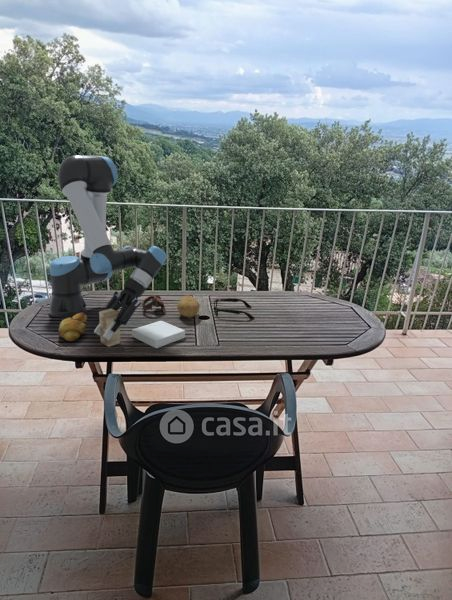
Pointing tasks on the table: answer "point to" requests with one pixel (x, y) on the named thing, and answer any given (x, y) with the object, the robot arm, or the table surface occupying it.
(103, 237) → the robot arm
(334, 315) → the table surface
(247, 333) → the table surface
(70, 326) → the bread roll
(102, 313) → the beech block
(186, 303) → the potato
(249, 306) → the glasses
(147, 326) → the stone tile base
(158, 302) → the brown arched figurine
